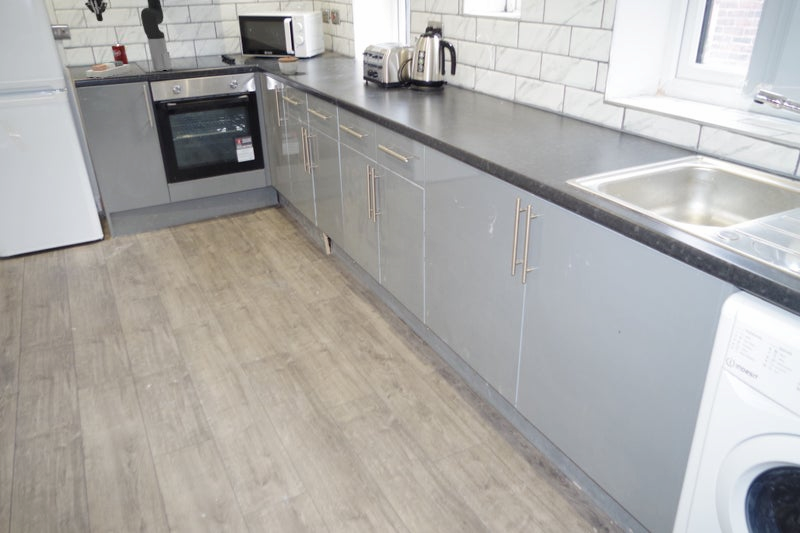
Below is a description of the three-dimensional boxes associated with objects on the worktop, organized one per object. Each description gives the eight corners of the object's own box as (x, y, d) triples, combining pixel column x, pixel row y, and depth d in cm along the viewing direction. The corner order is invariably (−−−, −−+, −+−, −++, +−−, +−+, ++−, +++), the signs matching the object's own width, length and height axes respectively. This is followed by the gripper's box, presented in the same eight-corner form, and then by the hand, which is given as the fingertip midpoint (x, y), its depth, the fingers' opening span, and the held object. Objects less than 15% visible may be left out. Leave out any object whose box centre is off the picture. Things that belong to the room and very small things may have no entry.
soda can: (120, 67, 356) (115, 46, 351) (113, 66, 360) (108, 45, 355) (131, 65, 361) (126, 44, 356) (124, 64, 365) (120, 44, 360)
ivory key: (116, 70, 336) (114, 63, 334) (110, 72, 331) (108, 64, 330) (108, 70, 337) (106, 63, 335) (102, 71, 333) (100, 64, 331)
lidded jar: (275, 74, 323) (273, 56, 319) (287, 71, 331) (286, 53, 327) (291, 75, 318) (289, 57, 314) (303, 72, 327) (302, 54, 322)
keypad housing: (131, 70, 344) (130, 64, 343) (103, 78, 323) (101, 71, 322) (116, 70, 346) (114, 64, 345) (87, 77, 326) (85, 71, 324)
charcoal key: (124, 68, 342) (122, 61, 340) (118, 69, 337) (116, 62, 336) (116, 68, 343) (114, 61, 341) (110, 69, 339) (109, 62, 337)
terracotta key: (107, 72, 330) (106, 65, 328) (101, 74, 325) (99, 66, 324) (100, 72, 331) (98, 64, 329) (93, 74, 327) (91, 66, 325)
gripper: (107, -14, 323) (115, 20, 331) (86, -14, 326) (94, 20, 334) (98, -14, 317) (106, 21, 325) (76, -13, 320) (85, 21, 328)
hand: (100, 21), depth 330 cm, fingers closed
